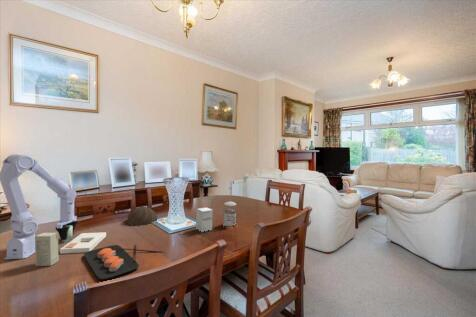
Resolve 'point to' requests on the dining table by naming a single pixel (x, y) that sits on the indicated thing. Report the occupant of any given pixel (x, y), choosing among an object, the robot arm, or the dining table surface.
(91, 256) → the sushi plate
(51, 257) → the skincare box
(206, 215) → the supplement box
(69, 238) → the peg
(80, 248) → the hole board
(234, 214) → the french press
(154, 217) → the decorative dome
